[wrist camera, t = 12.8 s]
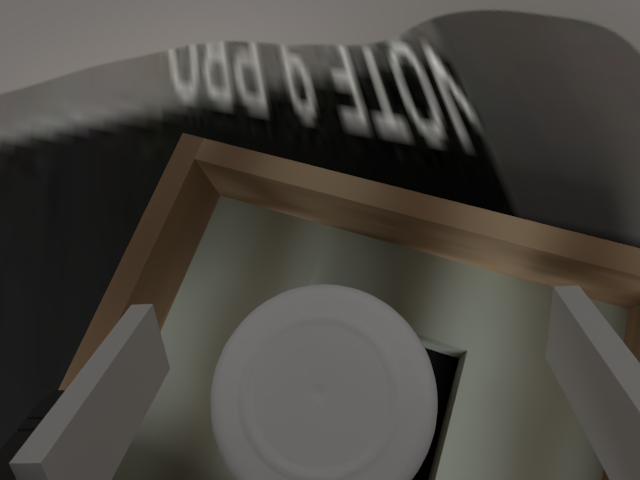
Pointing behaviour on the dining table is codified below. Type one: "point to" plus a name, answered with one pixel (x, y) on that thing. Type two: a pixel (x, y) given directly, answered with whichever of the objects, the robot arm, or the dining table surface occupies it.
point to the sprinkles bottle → (324, 390)
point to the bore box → (368, 276)
